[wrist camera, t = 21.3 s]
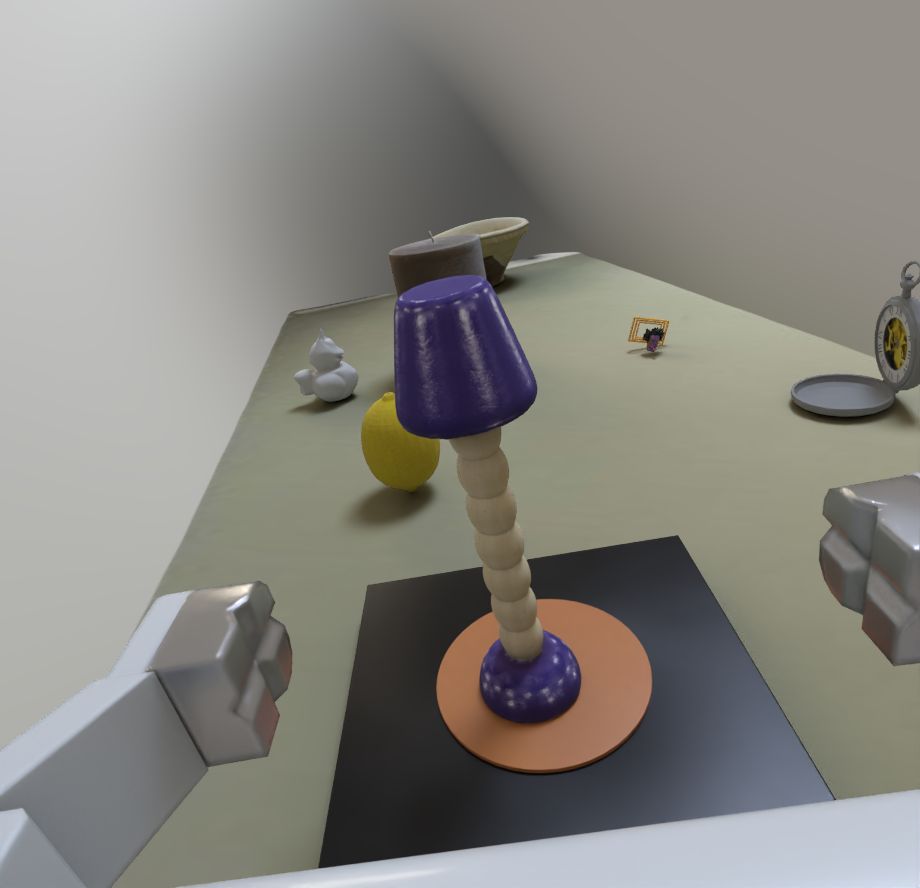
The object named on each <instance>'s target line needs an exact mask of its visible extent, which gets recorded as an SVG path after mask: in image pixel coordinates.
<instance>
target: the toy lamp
mask: <svg viewBox="0 0 920 888" xmlns="http://www.w3.org/2000/svg"><path fill="white" fill-rule="evenodd" d="M394 371H395V407H396V414H397V418H398V420H399V423H400V424H401V425H402V427H403V428H404V429H405V430H406V431H407V432H409V433H411V434H414V435H416V436H419V437H424V438H429V439H449V440H450V443H451V445H452V447H453V449H454V450H455V451H456V452H457V453H458V454H459V455H458V459H457V473H458V477H459V480H460V482H461V484H462V486H463V488H464V489H465V490H466V491H467V496H466V509H467V513H468V516H469V518H470V520H471V523H472V524H473V525H474V527H475V528H476V529H475V536H474V539H475V546H476V550H477V552H478V555H479V556H480V558H481V559H482V561H483V562H484V565H483V577H484V581H485V584H486V586H487V588H488V590H489V591H490V592H491V593H492V596H491V606H492V610H493V613H494V616H495V618H496V619H497V621H498V622H499V637H500V638H499V639H498V640H497V641H495V642H494V643H493V644H492V646H491V647H490V648H489V650H488V651H487V653H486V655H485V656H484V658H483V662H482V664H481V670H480V678H479V683H480V691H481V695H482V697H483V700H484V702H485V703H486V704H487V706H488V707H489V708H490V709H491V710H492V711H493V712H494V713H495V714H497V715H498V716H500V717H502V718H504V719H507V720H510V721H513V722H516V723H537V722H542V721H547V720H549V719H551V718H554V717H556V716H558V715H560V714H562V713H563V712H564V711H566V710H567V709H568V708H569V707H570V706H571V705H572V704H573V702H574V701H575V700H576V698H577V696H578V694H579V691H580V688H581V678H582V677H581V672H580V667H579V664H578V661H577V659H576V657H575V655H574V654H573V652H572V650H571V649H570V648H569V646H568V645H567V644H566V643H565V642H564V641H563V640H561V639H560V638H559V637H557V636H555V635H554V634H552V633H550V632H548V631H545V630H542V626H541V623H540V622H539V620H538V618H537V617H536V616H537V601H536V598H535V595H534V593H533V591H532V589H531V588H530V583H531V572H530V568H529V565H528V562H527V560H526V559H525V557H524V556H523V552H524V539H523V534H522V532H521V529H520V527H519V525H518V524H517V522H516V521H515V518H516V513H517V507H516V501H515V498H514V495H513V493H512V491H511V489H510V488H509V487H508V485H507V483H508V479H509V467H508V462H507V459H506V457H505V454H504V453H503V451H502V450H501V449H500V447H499V445H500V442H501V426H503V425H505V424H508V423H509V422H511V421H513V420H515V419H517V418H518V417H519V416H521V415H523V414H524V413H525V412H526V411H527V410H528V409H529V407H530V406H531V405H532V404H533V403H534V401H535V398H536V395H537V384H536V380H535V377H534V374H533V372H532V370H531V368H530V366H529V363H528V361H527V359H526V356H525V354H524V352H523V350H522V348H521V346H520V344H519V342H518V339H517V337H516V335H515V333H514V330H513V328H512V326H511V324H510V322H509V320H508V318H507V316H506V314H505V311H504V309H503V307H502V305H501V303H500V301H499V299H498V297H497V295H496V293H495V291H494V289H493V288H492V286H491V285H490V283H489V282H488V281H487V280H486V279H485V278H483V277H481V276H476V275H464V276H454V277H448V278H444V279H439V280H435V281H431V282H427V283H424V284H422V285H419V286H416V287H414V288H411V289H409V290H408V291H406V292H404V293H403V294H402V295H400V297H399V298H398V299H397V301H396V305H395V310H394Z"/></svg>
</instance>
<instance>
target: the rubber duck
mask: <svg viewBox="0 0 920 888" xmlns="http://www.w3.org/2000/svg"><path fill="white" fill-rule="evenodd" d="M343 353H344V351H343V350H342V349H340V348H338V347H337V346H336V345H335V344H334V342H333V341H332V340H331V339H329V338H326V337H324V334H323V331H322V328H321V330H320V334H319V337H318V339H317V341H316V342H315V344H314V345H313V346H312V348H311V350H310V353H309V362H310V363H311V364H312V365H313V366H314V367H315V368H316V369H315V370H301V371H299V372H298V373H297V374H296V375H295V380H296V382H297V383H298V384H299V385H300V390H301V393H302V394H303V395H311V394H315V395H316V396H317V397H319V398H320V399H322V400H325V401H328V402H332V401H338V400H342V399H345V398H347V397H348V396H349V395H350V394H351V393H352V392H353V391H354V389H355V387H356V385H357V382H358V374H357V371H356V370H355V369H354V368H353V367H351V366H350V365H348V364H346V363H345V362H342V361H341V360H342V359H343V356H341V355H342V354H343Z"/></svg>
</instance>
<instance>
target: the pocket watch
mask: <svg viewBox="0 0 920 888" xmlns="http://www.w3.org/2000/svg"><path fill="white" fill-rule="evenodd" d="M912 264H917V265H918V266H919V268H920V262H918V261H910V262H909V263H908V264H906V266H905V267H904V268H903V271H902V275H901V278H902V282H901V283H900V285H901V288H903V292H902V295H901V296H896V297H892V298H891V299H890V300H888V301H887V302H886V304H885V305H884V307H883V308H882V310H881V312H880V315H879V318H878V320H877V325H876V331H875V354H876V361H877V364H878V368H879V370H880V373H881V375H882V377H883V379H884V380H883V381H881V380H879V379H875V378H871V377H867V376H862V375H853V374H829V375H819V376H813V377H809V378H806V379H803V380H801V381H799V382H797V383H796V384H794V386H793V387H792V390H791V395H792V399H793V401H794V402H795V403H796V404H797V405H799V406H800V407H802V408H803V409H805V410H808V411H811V412H814V413H818V414H823V415H830V416H842V417H846V416H862V415H869V414H875V413H877V412H880V411H882V410H885V409H887V408H888V407H889V406H891V405H892V404H893V402H894V398H895V392H896V393H898V392H899V391H900V390H908V389H911V388H914V387H916V386H918V385H919V384H920V302H919V301H918V300H917V299H915V298H914V297H911V289H913V288H914V287H915V285H917V284H918V283H919V282H920V276H919V277H918V279H917V280H916V281H915V282H914V281H913V280H912V279H911V278H913V276H912V275H911V274H908V275H906V276H905V273H906V270H907V268H908V267H909V266H910V265H912ZM904 340H905V341H904ZM901 348H902V349H903V350H902V351H903V357H901V354H902V351H901ZM901 358H902V359H904V360H905V362H904V361H903V360H902V359H901Z"/></svg>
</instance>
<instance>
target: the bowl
mask: <svg viewBox="0 0 920 888" xmlns="http://www.w3.org/2000/svg"><path fill="white" fill-rule="evenodd" d="M528 224H529V222H528V221H527V220H526V219H523V218H512V217H505V218H493V219H488V220H482V221H477V222H472V223H469V224H465V225H462V226H459V227H456V228H454V229H451V230H449V231H446V232H443V233H441V234H439V235H436V236H434V237H433V238H439V237H446V236H454V235H464V234H473V235H475V234H478V235H480V243H481V249H482V255H483V262H484V267H485V273H486V279H487V281H488V282H489V283H490V285H491V286H492V287H493V286H495V285H497V284H499V283H500V282H502V281H503V280H504V278H505V277H504V271H505V269H506V267H507V265H508V263H509V261H510V259H511V257H512V256H513V253H514V251H515V249H516V247H517V245H518V242H519V240H520V239H521V237H522V235H523V233H526V232H527V231H528Z"/></svg>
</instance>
